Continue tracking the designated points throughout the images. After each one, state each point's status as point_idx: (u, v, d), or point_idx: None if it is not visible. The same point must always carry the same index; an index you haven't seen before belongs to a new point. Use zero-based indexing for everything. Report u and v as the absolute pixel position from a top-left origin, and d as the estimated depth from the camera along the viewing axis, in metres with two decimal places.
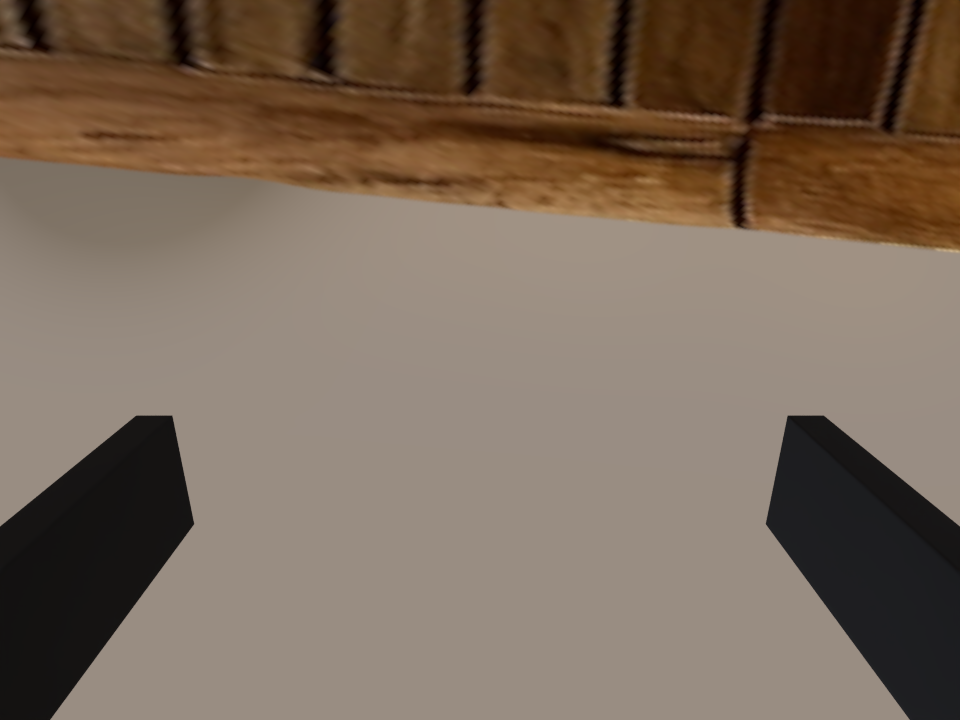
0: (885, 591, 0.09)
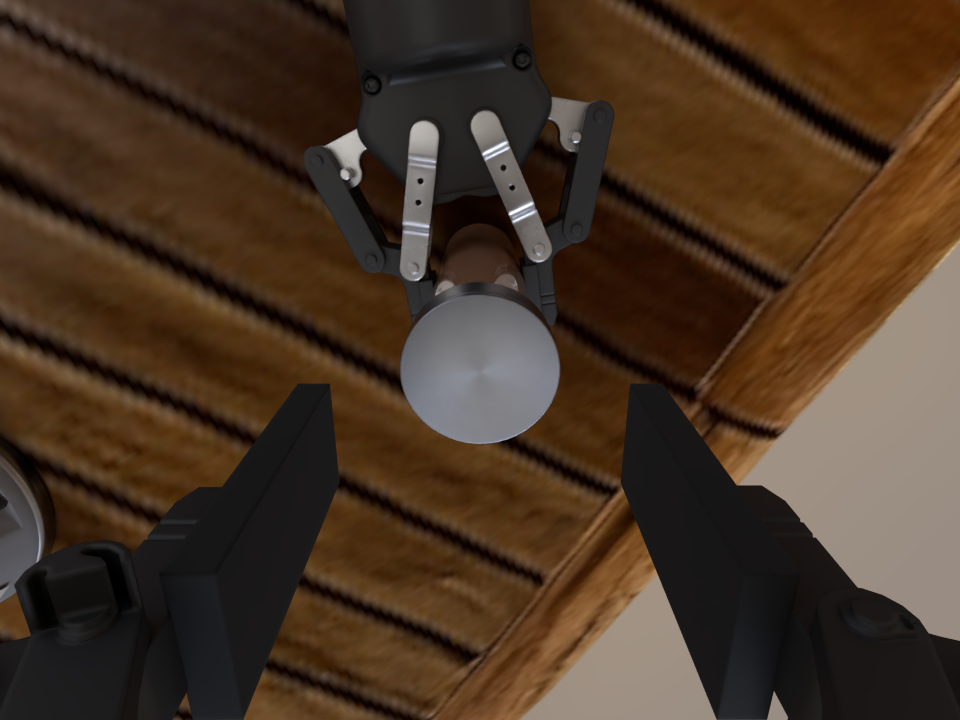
0: (670, 525, 0.11)
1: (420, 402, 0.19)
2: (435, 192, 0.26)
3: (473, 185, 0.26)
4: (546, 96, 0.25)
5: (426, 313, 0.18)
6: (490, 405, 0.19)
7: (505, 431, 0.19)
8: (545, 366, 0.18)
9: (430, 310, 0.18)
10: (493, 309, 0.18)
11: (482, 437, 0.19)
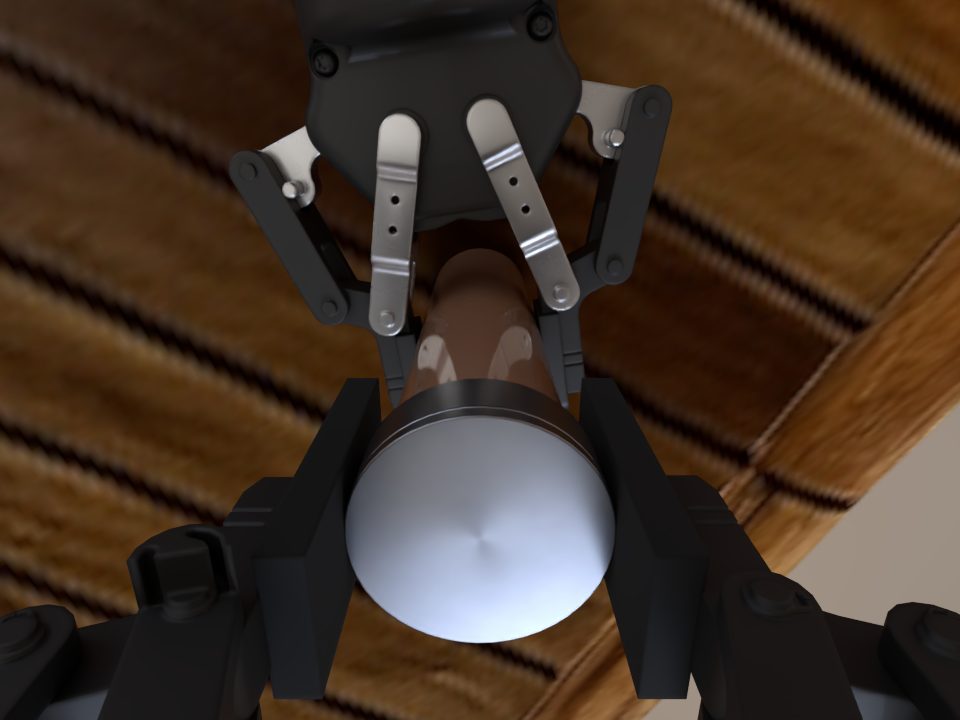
0: None
1: (380, 583, 0.11)
2: (417, 215, 0.19)
3: (470, 205, 0.19)
4: (575, 79, 0.17)
5: (386, 444, 0.10)
6: (497, 587, 0.11)
7: (522, 625, 0.11)
8: (591, 529, 0.11)
9: (393, 440, 0.10)
10: (503, 439, 0.10)
11: (484, 634, 0.12)
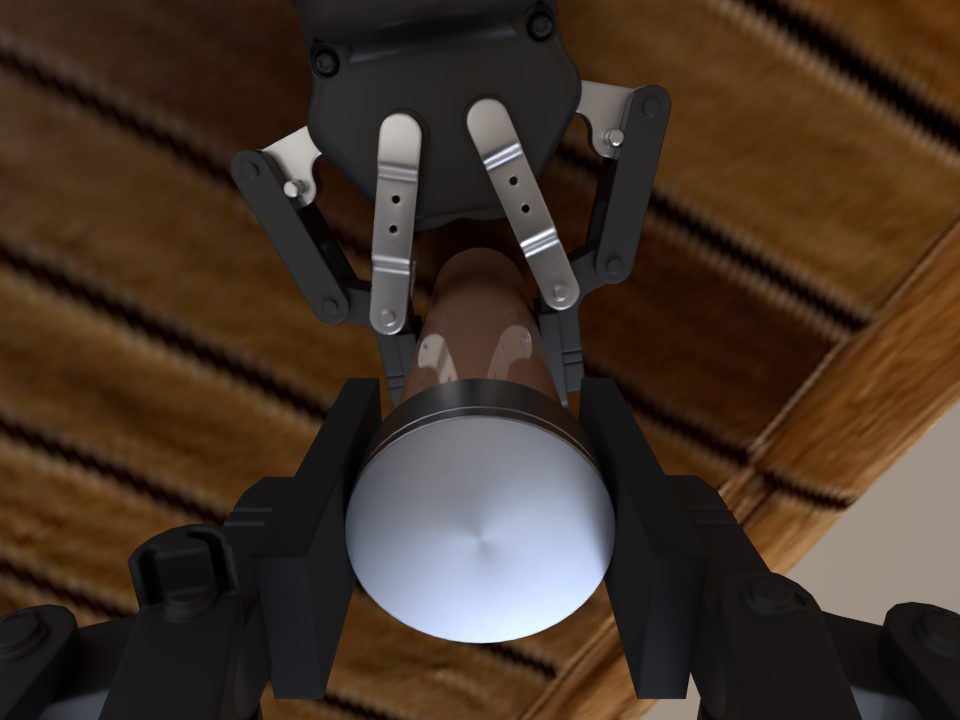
0: None
1: (509, 626, 0.11)
2: (417, 214, 0.19)
3: (471, 204, 0.19)
4: (574, 79, 0.17)
5: (365, 586, 0.11)
6: (544, 535, 0.11)
7: (600, 522, 0.11)
8: (494, 440, 0.10)
9: (360, 582, 0.11)
10: (373, 499, 0.10)
11: (600, 557, 0.11)
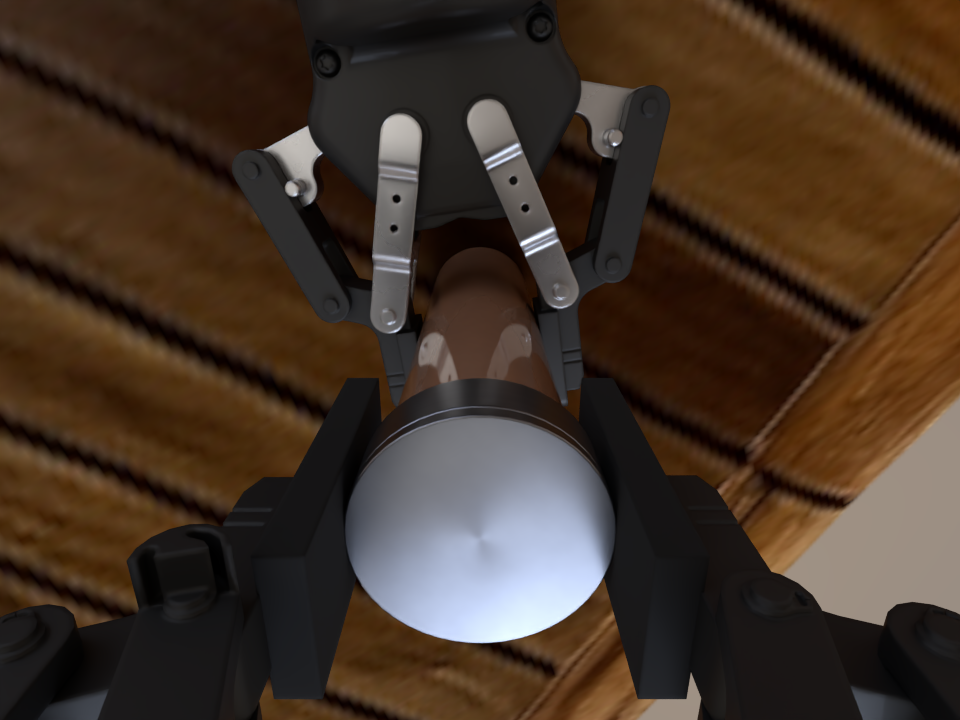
0: None
1: (597, 534, 0.11)
2: (418, 214, 0.19)
3: (471, 204, 0.19)
4: (574, 79, 0.18)
5: (512, 636, 0.12)
6: (490, 484, 0.10)
7: (488, 431, 0.10)
8: (372, 507, 0.11)
9: (504, 640, 0.12)
10: (415, 611, 0.11)
11: (532, 438, 0.10)
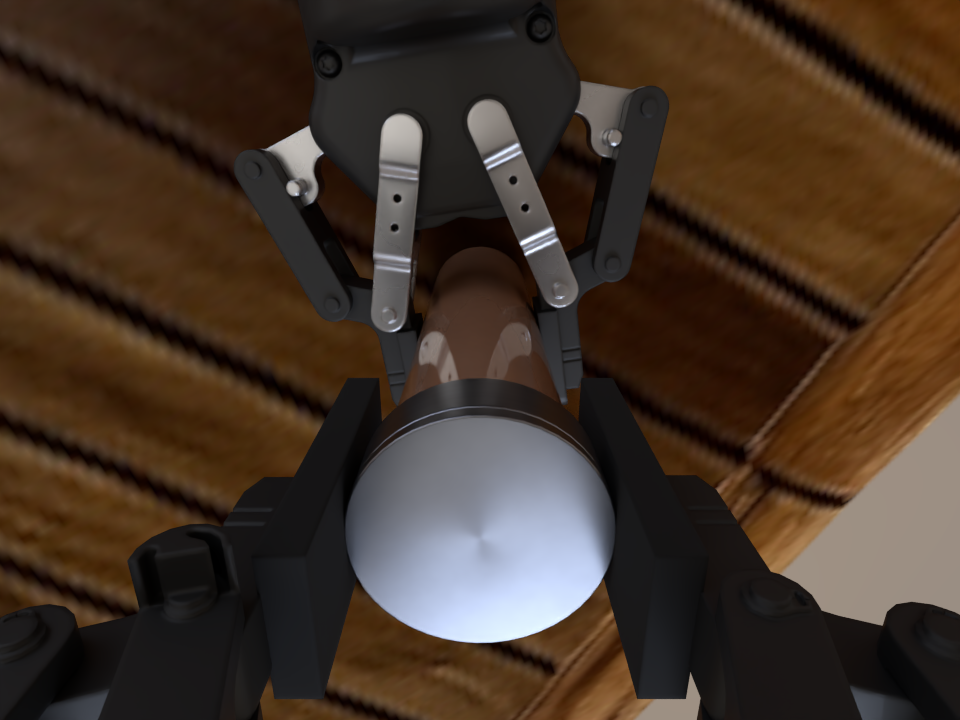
0: None
1: (501, 436, 0.10)
2: (418, 213, 0.19)
3: (471, 203, 0.19)
4: (573, 80, 0.18)
5: (615, 530, 0.11)
6: (420, 519, 0.11)
7: (362, 510, 0.11)
8: (424, 613, 0.11)
9: None
10: (551, 607, 0.11)
11: (375, 476, 0.10)
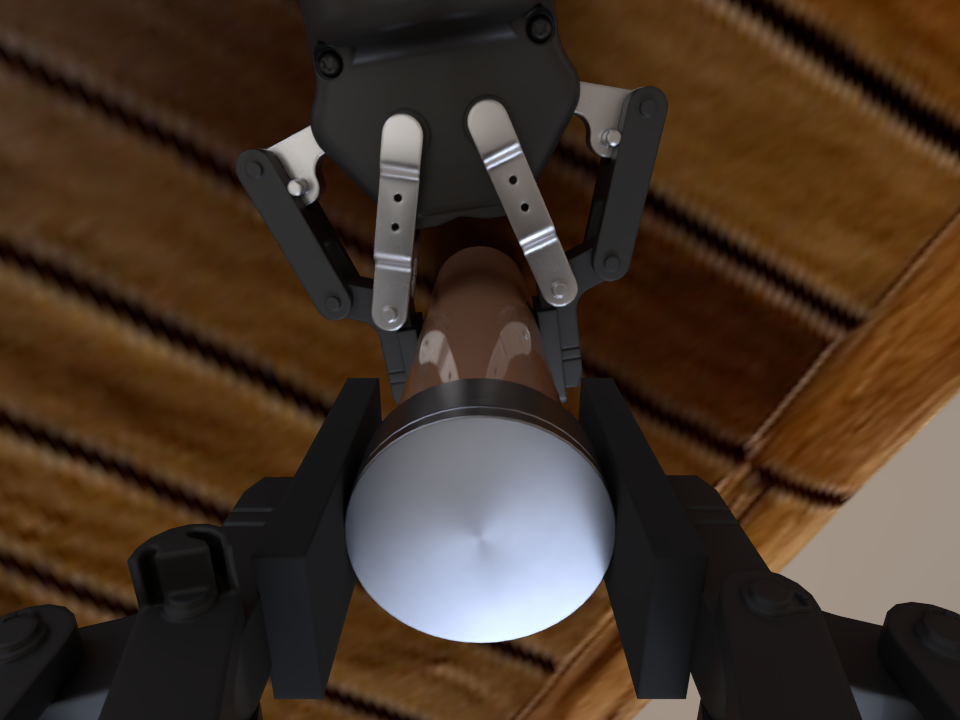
0: None
1: (369, 500, 0.10)
2: (419, 212, 0.19)
3: (471, 203, 0.19)
4: (573, 80, 0.18)
5: (506, 415, 0.10)
6: (445, 581, 0.11)
7: (425, 621, 0.11)
8: (556, 601, 0.11)
9: (516, 418, 0.10)
10: (584, 493, 0.10)
11: (391, 603, 0.11)
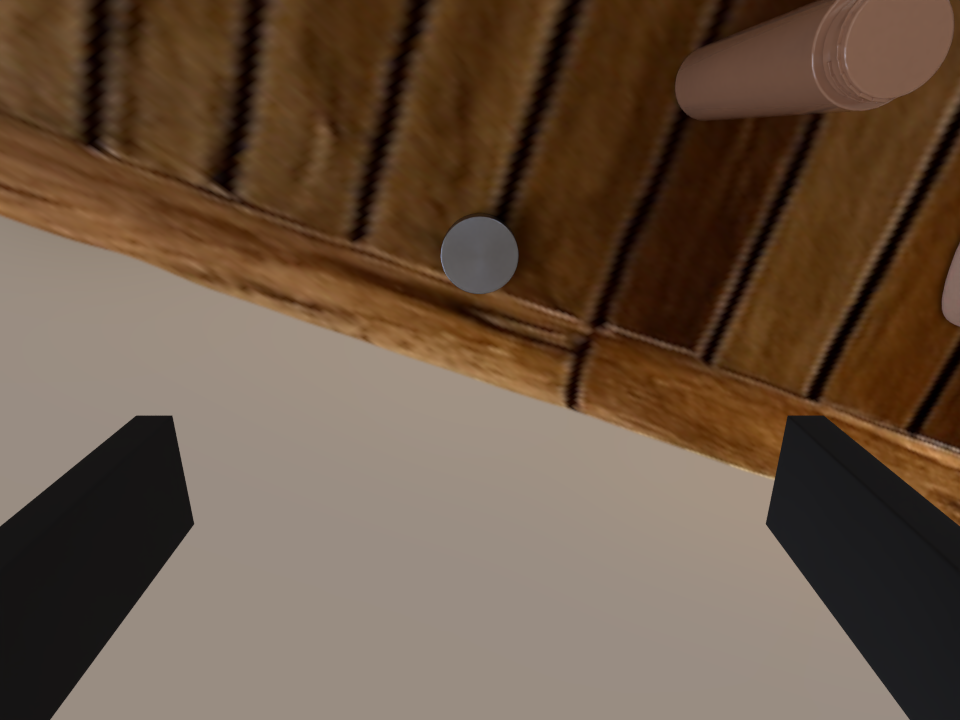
0: (884, 591, 0.09)
1: (448, 243, 0.38)
2: None
3: None
4: None
5: (486, 217, 0.37)
6: (469, 270, 0.38)
7: (463, 285, 0.39)
8: (501, 278, 0.38)
9: (489, 217, 0.37)
10: (508, 240, 0.38)
11: (453, 279, 0.38)
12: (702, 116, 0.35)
